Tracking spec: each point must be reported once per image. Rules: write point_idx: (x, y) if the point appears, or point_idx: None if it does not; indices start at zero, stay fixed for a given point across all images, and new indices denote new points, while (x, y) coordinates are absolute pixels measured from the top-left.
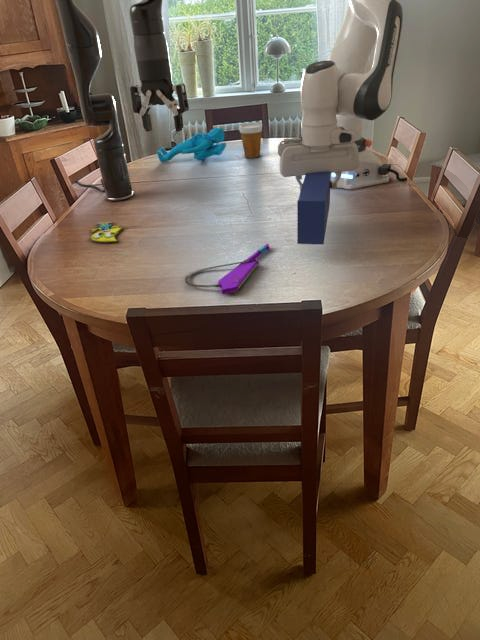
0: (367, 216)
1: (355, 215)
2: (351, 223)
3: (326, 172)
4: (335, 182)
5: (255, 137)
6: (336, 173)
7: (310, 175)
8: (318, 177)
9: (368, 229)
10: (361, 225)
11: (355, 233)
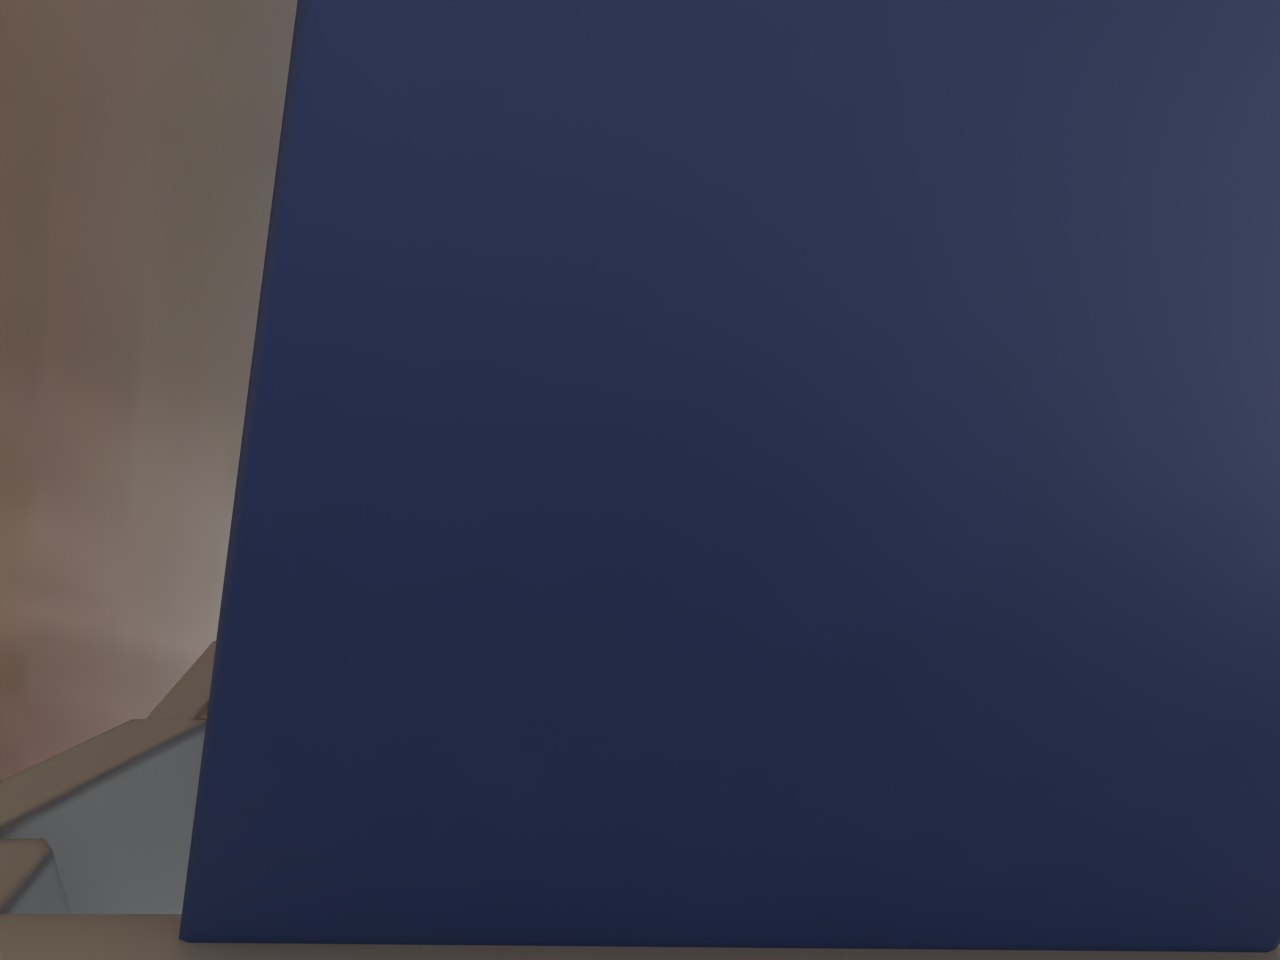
0: (32, 588)
1: (166, 645)
2: (232, 438)
3: (357, 853)
4: (190, 716)
5: None
6: (2, 907)
7: (1222, 644)
8: (947, 168)
9: (37, 203)
10: (117, 350)
11: (212, 112)
